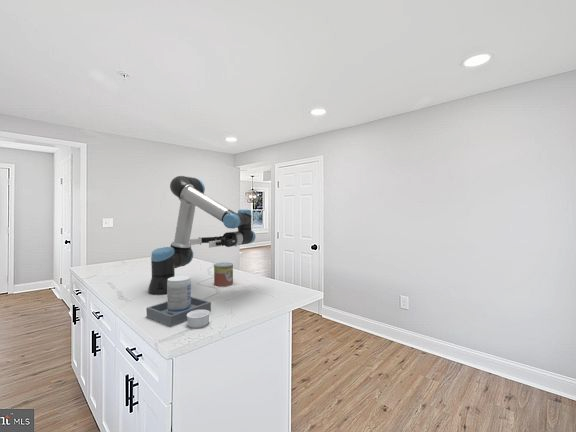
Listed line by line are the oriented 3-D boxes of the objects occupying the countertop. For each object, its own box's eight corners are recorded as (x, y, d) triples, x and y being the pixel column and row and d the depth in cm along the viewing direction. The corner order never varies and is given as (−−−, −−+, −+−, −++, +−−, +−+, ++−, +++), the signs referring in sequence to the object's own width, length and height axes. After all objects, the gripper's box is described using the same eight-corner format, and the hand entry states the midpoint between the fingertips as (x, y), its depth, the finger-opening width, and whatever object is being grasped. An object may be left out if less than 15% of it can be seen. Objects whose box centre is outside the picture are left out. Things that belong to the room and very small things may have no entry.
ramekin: (181, 326, 109) (181, 315, 109) (196, 318, 117) (196, 308, 117) (200, 330, 106) (200, 319, 106) (214, 321, 114) (214, 311, 114)
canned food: (223, 287, 161) (223, 267, 161) (210, 284, 167) (209, 264, 167) (237, 283, 171) (237, 263, 170) (223, 280, 177) (223, 261, 176)
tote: (146, 317, 118) (146, 307, 118) (186, 303, 135) (186, 295, 135) (170, 326, 109) (170, 316, 109) (210, 310, 125) (210, 302, 125)
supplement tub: (193, 312, 120) (193, 279, 120) (169, 317, 115) (169, 282, 115) (187, 306, 129) (187, 274, 128) (165, 310, 123) (165, 277, 123)
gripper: (250, 248, 141) (218, 254, 123) (215, 244, 154) (182, 248, 137) (250, 233, 141) (218, 237, 123) (215, 230, 154) (182, 233, 136)
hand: (199, 243), depth 130 cm, fingers open, 13 cm apart
